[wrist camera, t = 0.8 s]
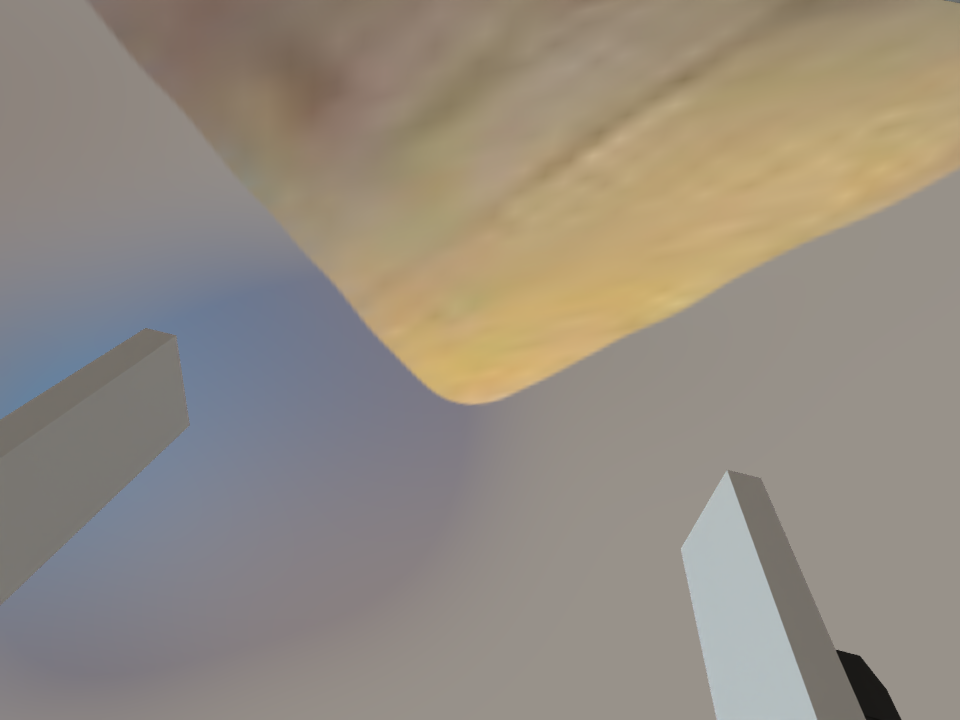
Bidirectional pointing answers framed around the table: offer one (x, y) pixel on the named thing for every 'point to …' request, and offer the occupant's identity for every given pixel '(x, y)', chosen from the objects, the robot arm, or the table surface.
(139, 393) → the robot arm
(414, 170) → the table surface
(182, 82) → the table surface
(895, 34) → the table surface
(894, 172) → the table surface
